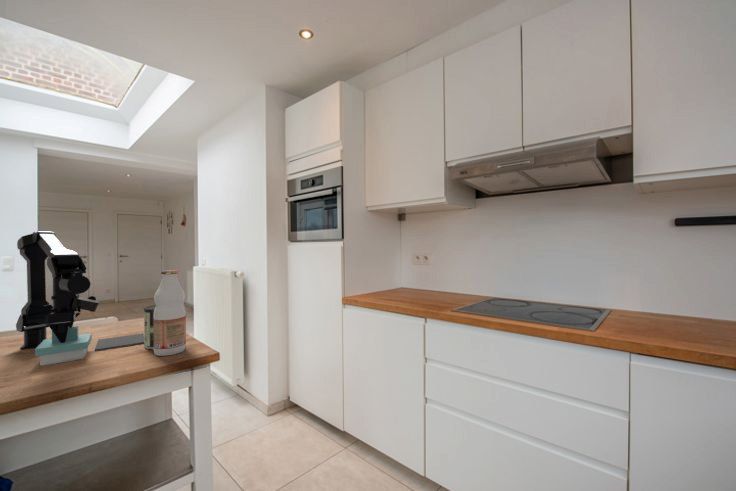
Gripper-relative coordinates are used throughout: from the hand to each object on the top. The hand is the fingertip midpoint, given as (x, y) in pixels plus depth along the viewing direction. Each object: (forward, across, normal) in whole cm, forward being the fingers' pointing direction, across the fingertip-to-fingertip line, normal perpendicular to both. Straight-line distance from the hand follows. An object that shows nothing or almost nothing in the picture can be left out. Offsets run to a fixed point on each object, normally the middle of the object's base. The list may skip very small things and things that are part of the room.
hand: (65, 339), depth 103 cm
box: (+6, 0, 0) cm, 6 cm away
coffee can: (+6, -3, -26) cm, 27 cm away
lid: (+3, 0, 0) cm, 3 cm away
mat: (+6, +9, -14) cm, 18 cm away
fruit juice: (+6, -14, -28) cm, 32 cm away
